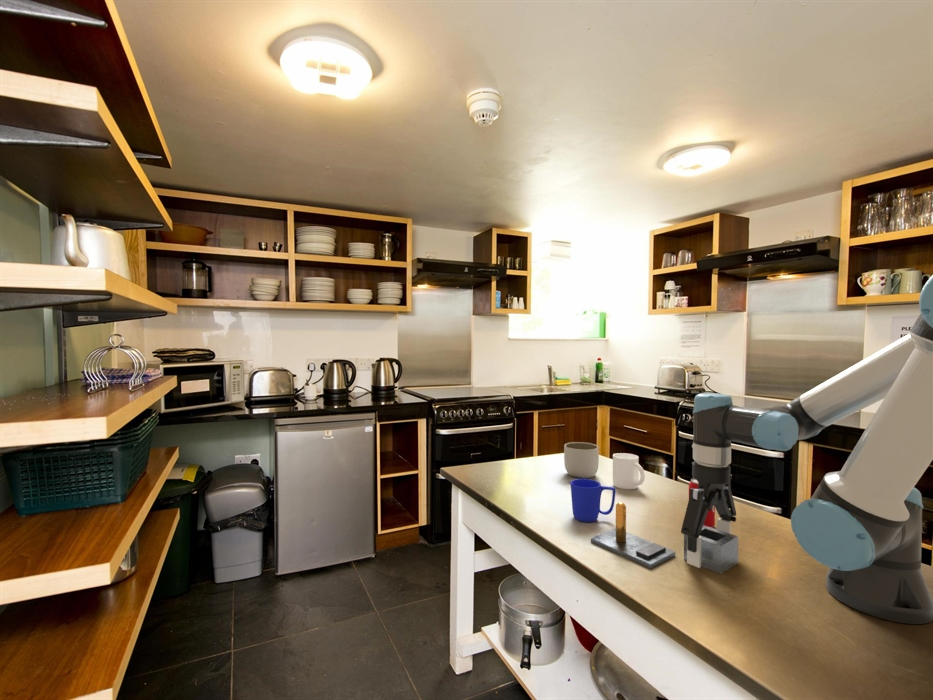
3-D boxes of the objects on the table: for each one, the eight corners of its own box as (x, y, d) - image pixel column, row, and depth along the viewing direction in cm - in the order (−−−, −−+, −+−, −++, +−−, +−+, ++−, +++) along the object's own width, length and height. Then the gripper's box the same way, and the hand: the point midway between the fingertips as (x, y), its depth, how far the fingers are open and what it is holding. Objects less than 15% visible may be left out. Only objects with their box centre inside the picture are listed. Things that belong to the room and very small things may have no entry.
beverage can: (717, 525, 120) (717, 480, 119) (711, 532, 115) (711, 486, 115) (692, 519, 124) (692, 476, 124) (685, 525, 119) (685, 481, 119)
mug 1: (617, 526, 119) (617, 489, 119) (570, 523, 121) (570, 486, 121) (613, 515, 127) (613, 480, 127) (570, 512, 129) (570, 477, 129)
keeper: (675, 555, 103) (675, 511, 102) (650, 568, 97) (650, 522, 97) (615, 532, 116) (616, 492, 115) (590, 542, 110) (590, 501, 110)
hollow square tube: (738, 563, 99) (738, 536, 99) (720, 574, 95) (721, 546, 94) (701, 549, 106) (701, 524, 106) (683, 559, 101) (684, 533, 101)
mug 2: (652, 490, 147) (653, 459, 147) (634, 494, 144) (634, 463, 143) (625, 480, 158) (625, 452, 158) (607, 484, 154) (607, 454, 154)
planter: (557, 475, 165) (557, 445, 165) (576, 468, 174) (576, 440, 174) (586, 482, 156) (586, 451, 156) (605, 475, 165) (605, 445, 165)
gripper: (720, 450, 110) (718, 535, 111) (664, 468, 95) (662, 565, 96) (754, 457, 104) (751, 547, 105) (700, 477, 89) (697, 581, 90)
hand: (709, 556), depth 100 cm, fingers open, 13 cm apart
